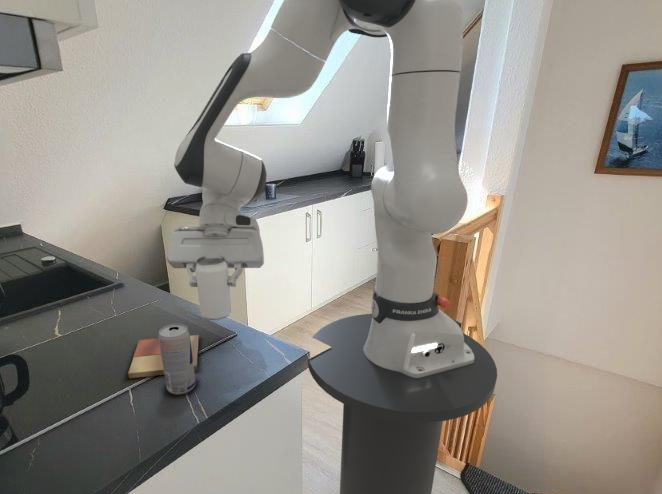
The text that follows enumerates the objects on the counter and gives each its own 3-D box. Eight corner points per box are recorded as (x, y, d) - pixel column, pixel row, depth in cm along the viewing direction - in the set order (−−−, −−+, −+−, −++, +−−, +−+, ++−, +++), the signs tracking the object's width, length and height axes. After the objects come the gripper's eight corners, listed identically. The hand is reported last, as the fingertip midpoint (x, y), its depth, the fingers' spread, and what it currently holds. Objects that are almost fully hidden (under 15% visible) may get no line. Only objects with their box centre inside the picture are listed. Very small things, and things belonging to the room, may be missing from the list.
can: (195, 313, 86) (188, 259, 81) (220, 304, 90) (215, 252, 85) (211, 323, 81) (205, 267, 77) (237, 313, 85) (233, 259, 81)
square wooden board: (198, 339, 92) (198, 334, 92) (196, 371, 81) (196, 365, 80) (139, 345, 91) (139, 340, 90) (129, 378, 79) (127, 372, 78)
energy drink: (195, 376, 79) (189, 321, 74) (196, 393, 74) (188, 335, 69) (167, 380, 78) (158, 325, 73) (165, 397, 73) (156, 339, 68)
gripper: (167, 219, 85) (157, 279, 80) (263, 218, 84) (259, 279, 79) (176, 234, 91) (168, 291, 86) (266, 233, 90) (263, 291, 85)
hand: (212, 285), depth 82 cm, fingers closed on can, 6 cm apart
